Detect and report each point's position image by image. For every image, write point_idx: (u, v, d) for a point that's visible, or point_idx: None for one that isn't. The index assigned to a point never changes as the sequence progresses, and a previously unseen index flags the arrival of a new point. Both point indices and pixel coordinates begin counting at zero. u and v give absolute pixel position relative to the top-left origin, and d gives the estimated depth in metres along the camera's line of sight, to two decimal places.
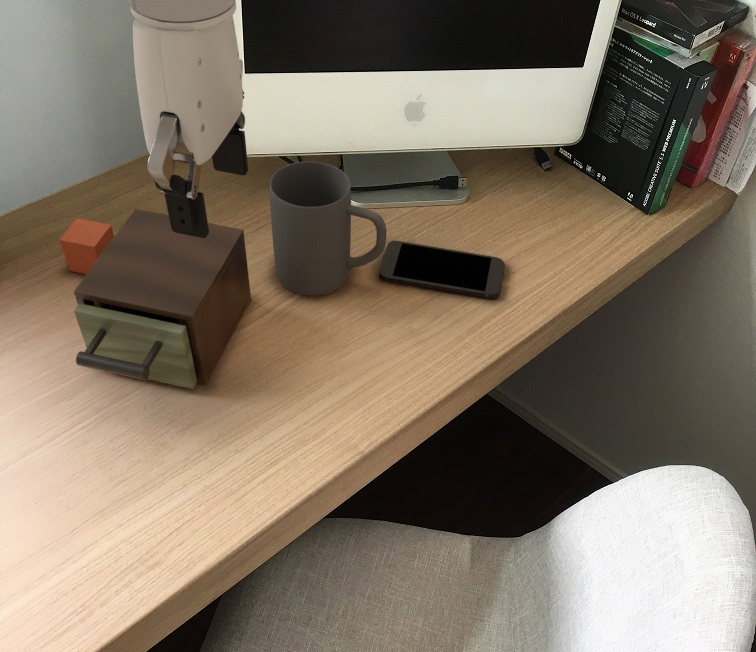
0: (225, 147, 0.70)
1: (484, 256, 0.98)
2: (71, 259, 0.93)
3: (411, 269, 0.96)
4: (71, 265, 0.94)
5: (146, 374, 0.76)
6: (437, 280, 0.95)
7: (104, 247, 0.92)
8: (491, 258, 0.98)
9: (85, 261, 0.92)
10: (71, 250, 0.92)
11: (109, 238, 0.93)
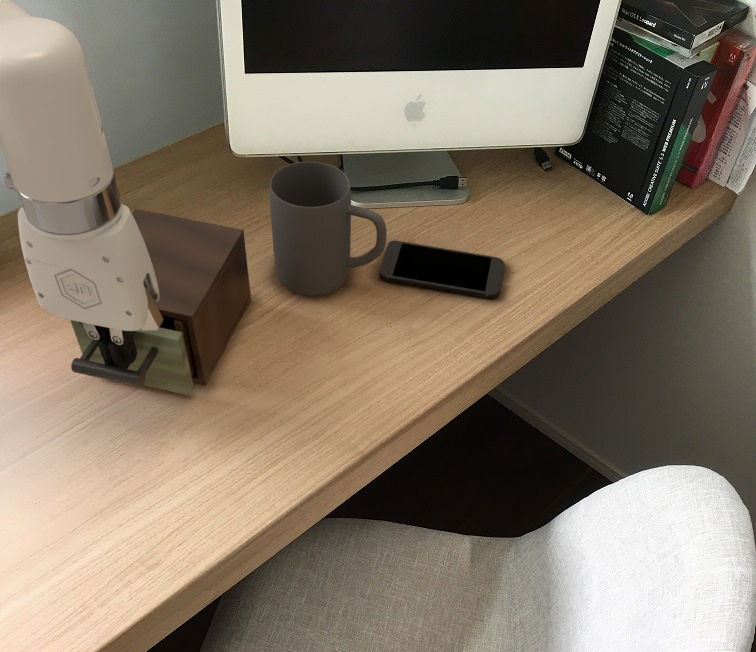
0: None
1: (484, 256, 0.98)
2: None
3: (411, 269, 0.96)
4: None
5: (142, 381, 0.75)
6: (437, 280, 0.95)
7: None
8: (492, 258, 0.98)
9: None
10: None
11: None
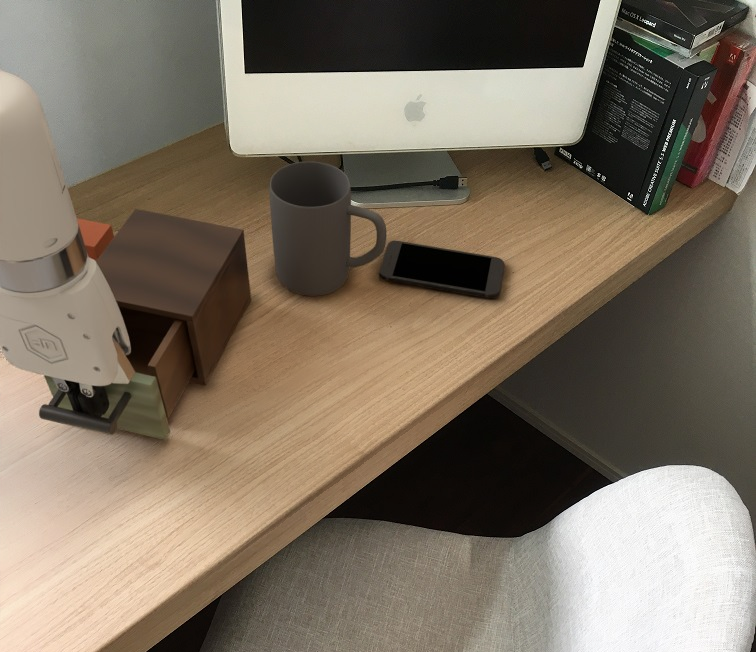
0: None
1: (484, 256, 0.98)
2: None
3: (411, 269, 0.96)
4: None
5: (113, 429, 0.72)
6: (437, 280, 0.95)
7: (104, 247, 0.92)
8: (491, 258, 0.98)
9: None
10: None
11: (109, 238, 0.93)
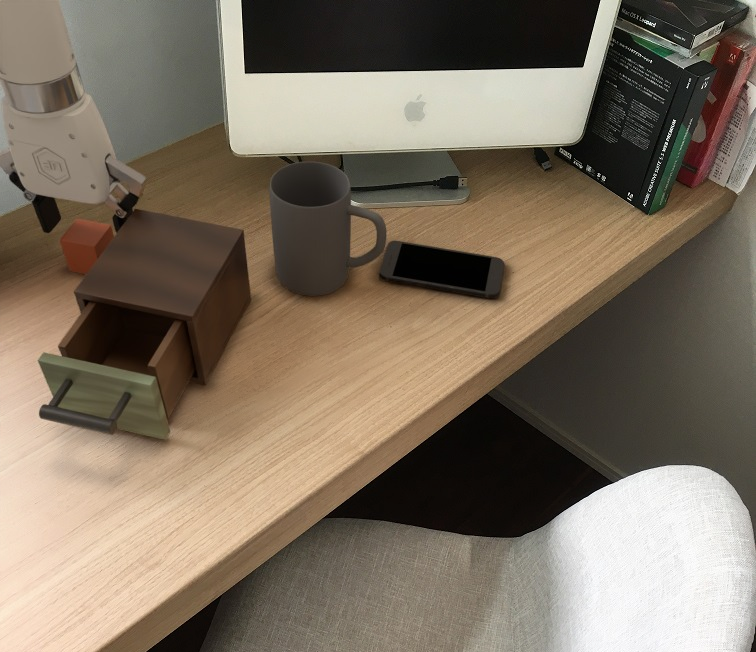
0: (48, 208, 0.90)
1: (484, 256, 0.98)
2: (71, 259, 0.93)
3: (411, 269, 0.96)
4: (71, 265, 0.94)
5: (113, 429, 0.72)
6: (437, 280, 0.95)
7: (104, 247, 0.92)
8: (491, 258, 0.98)
9: (85, 261, 0.92)
10: (71, 250, 0.92)
11: (109, 238, 0.93)
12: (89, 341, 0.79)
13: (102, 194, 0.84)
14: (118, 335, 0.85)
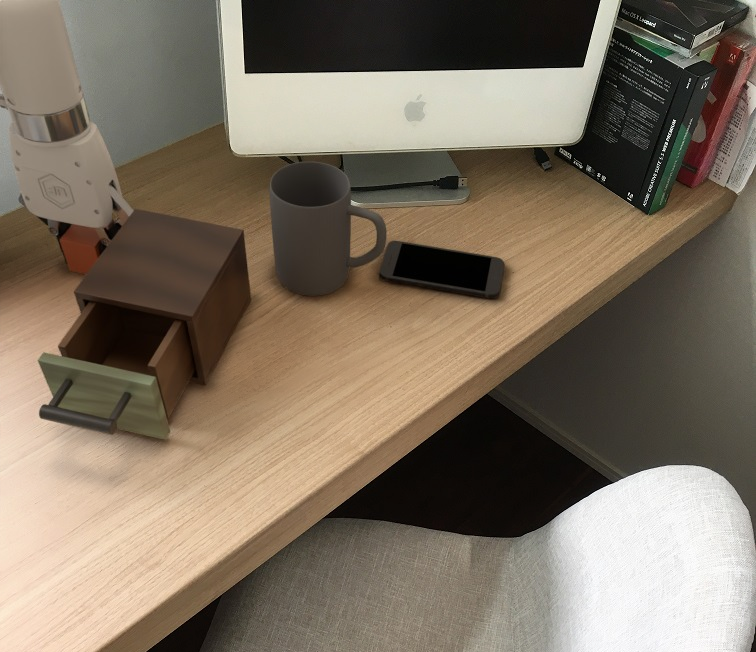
0: None
1: (484, 256, 0.98)
2: (71, 259, 0.93)
3: (411, 269, 0.96)
4: (71, 265, 0.94)
5: (113, 429, 0.72)
6: (437, 280, 0.95)
7: None
8: (491, 258, 0.98)
9: (85, 261, 0.92)
10: (71, 250, 0.92)
11: None
12: (89, 341, 0.79)
13: (105, 219, 0.86)
14: (118, 335, 0.85)
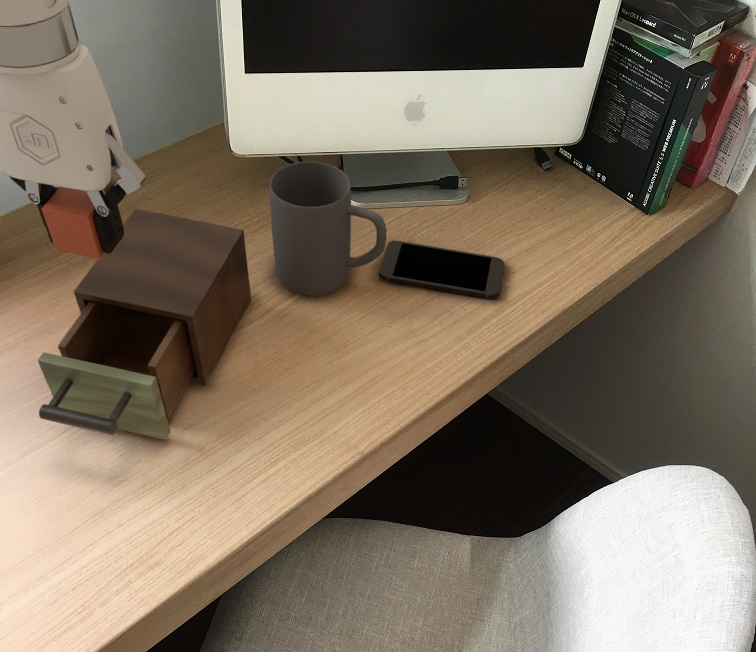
0: None
1: (484, 256, 0.98)
2: (58, 234, 0.71)
3: (411, 269, 0.96)
4: (58, 243, 0.72)
5: (113, 429, 0.72)
6: (437, 280, 0.95)
7: None
8: (492, 258, 0.98)
9: (75, 237, 0.71)
10: (57, 223, 0.70)
11: None
12: (89, 341, 0.79)
13: (101, 178, 0.65)
14: (118, 335, 0.85)
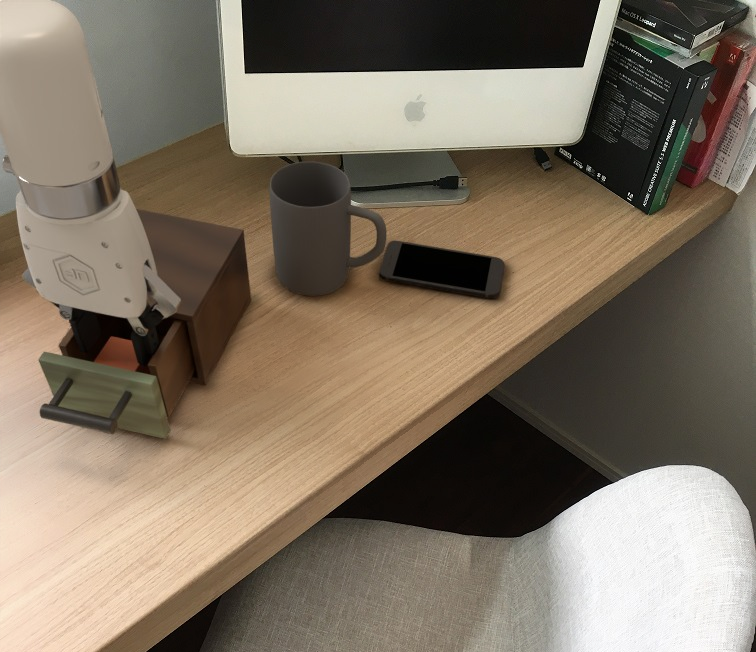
0: (88, 325, 0.75)
1: (484, 256, 0.98)
2: None
3: (411, 269, 0.96)
4: None
5: (114, 428, 0.72)
6: (437, 280, 0.95)
7: (143, 372, 0.78)
8: (492, 258, 0.98)
9: None
10: None
11: (149, 360, 0.79)
12: None
13: (138, 308, 0.68)
14: (118, 334, 0.85)
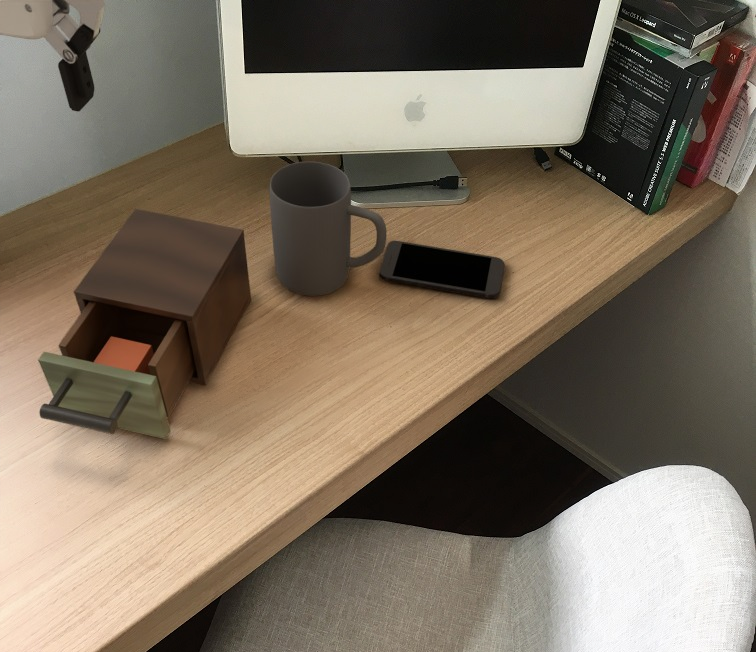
0: None
1: (484, 256, 0.98)
2: None
3: (411, 269, 0.96)
4: None
5: (114, 428, 0.72)
6: (437, 280, 0.95)
7: (143, 372, 0.78)
8: (491, 258, 0.98)
9: None
10: None
11: (149, 361, 0.79)
12: (89, 340, 0.79)
13: (42, 21, 0.60)
14: (118, 334, 0.85)
